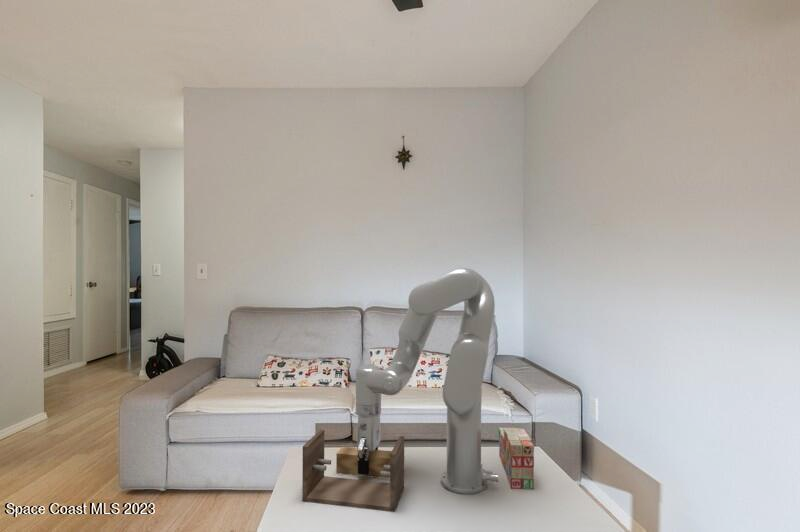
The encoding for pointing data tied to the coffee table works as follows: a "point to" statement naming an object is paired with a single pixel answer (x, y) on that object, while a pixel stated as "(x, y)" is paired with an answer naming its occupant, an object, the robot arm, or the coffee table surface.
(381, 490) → the shelf frame
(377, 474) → the shelf board
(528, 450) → the stack of blocks
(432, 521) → the coffee table surface
